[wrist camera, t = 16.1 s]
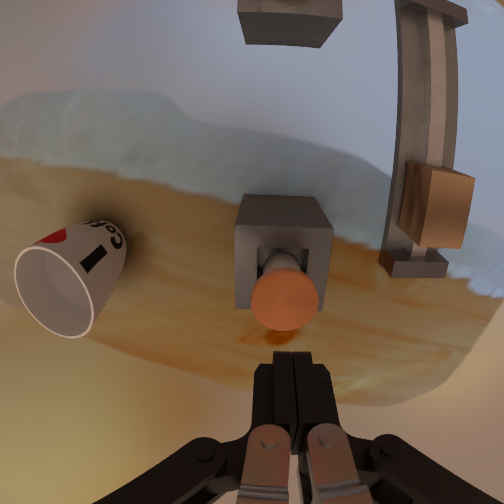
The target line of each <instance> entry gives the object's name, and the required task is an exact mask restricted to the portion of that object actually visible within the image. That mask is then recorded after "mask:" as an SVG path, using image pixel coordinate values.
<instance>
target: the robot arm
mask: <svg viewBox="0 0 504 504" xmlns="http://www.w3.org/2000/svg"><path fill="white" fill-rule="evenodd" d="M252 408H253V409H252V424H251V427H250V430H249V431H248V432H247V434H246V435H244V436H243V437H241V438H240V439H237V440H234V441H229V442H224V443H220V442H219V441H217V440H215V439H212V438H208V437H201V438H196V439H194V440H192V441H190V442H189V443H187V444H186V445H184V446H183V447H182V448H180V449H179V450H177V451H176V452H175V453H173V454H172V455H170V456H169V457H167V458H166V459H164V460H163V461H162V462H160V463H159V464H157V465H155V466H154V467H153V468H151V469H149V470H148V471H146V472H145V473H143V474H142V475H140V476H139V477H137V478H135V479H134V480H132V481H131V482H129V483H127V484H126V485H124V486H122V487H121V488H119V489H117V490H116V491H114V492H112V493H110V494H109V495H107V496H105V497H103V498H102V499H100V500H98V501H96V502H94V503H92V504H213V503H214V502H215V501H216V500H218V499H219V498H220V497H221V496H222V495H224V494H225V493H226V492H229V491H234V490H238V489H239V491H238V495H237V501H236V504H288V502H289V493H288V477H289V461H290V451H291V455H298V463H299V464H298V467H297V478H298V486H299V492H300V500H301V504H503V503H502V502H500V501H498V500H496V499H495V498H493V497H491V496H489V495H488V494H486V493H484V492H483V491H481V490H479V489H478V488H476V487H474V486H472V485H471V484H469V483H468V482H466V481H464V480H463V479H461V478H460V477H458V476H456V475H455V474H453V473H452V472H450V471H449V470H447V469H445V468H444V467H442V466H441V465H439V464H437V463H436V462H435V461H433V460H431V459H430V458H428V457H427V456H426V455H424V454H423V453H421V452H420V451H418V450H417V449H415V448H414V447H412V446H411V445H409V444H408V443H406V442H405V441H404V440H402V439H401V438H399V437H398V436H395V435H391V434H384V435H380V436H378V437H376V438H375V439H374V440H373V441H372V440H367V439H361V438H356V437H353V436H351V435H349V434H347V433H346V432H345V431H344V430H343V429H342V427H341V426H340V423H339V418H338V412H337V407H336V402H335V397H334V393H333V386H332V381H331V377H330V372H329V371H328V370H327V369H326V367H325V366H324V365H323V364H313V362H312V356H311V352H282V351H273V361H272V364H260V365H259V366H258V368H257V369H256V371H255V372H254V388H253V407H252Z"/></svg>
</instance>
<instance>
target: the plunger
mask: <svg viewBox="0 0 504 504" xmlns="http://www.w3.org/2000/svg"><path fill="white" fill-rule="evenodd" d="M318 304H319V299H318V294H317V290H316V287H315V284H314V282H313V281H312V279H311V278H310V277H309V276H308V275H307V274H305V273H304V272H302V271H301V268H300V264H299V261H298V259H297V258H296V257H295V256H294V255H293V254H291V253H288V252H276V253H273V254H272V255H270V256H269V257H268V258H267V259H266V261H265V262H264V266H263V275H262V276H261V277H260V278H259V279H258V280H257V281H256V283H255V285H254V287H253V290H252V298H251V308H252V312H253V314H254V316H255V318H256V319H257V320H258V321H259V322H260V323H261V324H262V325H264V326H266V327H268V328H270V329H273V330H278V331H289V330H294V329H297V328H300V327H302V326H304V325H305V324H307V323H308V322H309V321H310V320H311V319H312V318H313V317H314V315H315V313H316V311H317V309H318Z"/></svg>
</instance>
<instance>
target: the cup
mask: <svg viewBox="0 0 504 504" xmlns="http://www.w3.org/2000/svg"><path fill="white" fill-rule="evenodd" d="M126 252H127V245H126V241H125V238H124V236H123V234H122V232H121V231H120V230H119V229H118V228H117V227H116V226H115V225H114V224H112V223H110V222H108V221H104V220H99V221H86V222H81V223H78V224H75V225H72V226H69V227H66V228H64V229H61V230H58V231H56V232H54V233H52V234H50V235H49V236H47V237H45V238H43V239H42V240H40V241H38V242H36V243H35V244H33V245H31V246H29V247H28V248H26V249H24V250H23V251H22V252H21V253H20V254H19V256H18V257H17V260H16V263H15V268H14V276H15V283H16V287H17V290H18V293H19V295H20V298H21V300H22V302H23V303H24V305H25V307H26V308H27V310H28V311H29V312H30V314H31V315H32V316H33V317H34V318H35V319H36V320H37V321H38V322H39V323H40V324H41V325H42V326H43V327H45V328H46V329H47V330H49V331H51V332H53V333H54V334H57V335H59V336H62V337H65V338H79V337H82V336H84V335H85V334H87V333H88V332H89V330H90V329H91V327H92V325H93V324H94V322H95V320H96V319H97V317H98V315H99V314H100V312H101V311H102V309H103V307H104V306H105V304H106V303H107V301H108V299H109V298H110V296H111V294H112V291H113V289H114V287H115V285H116V283H117V281H118V278H119V276H120V274H121V272H122V269H123V265H124V260H125V256H126Z"/></svg>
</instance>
